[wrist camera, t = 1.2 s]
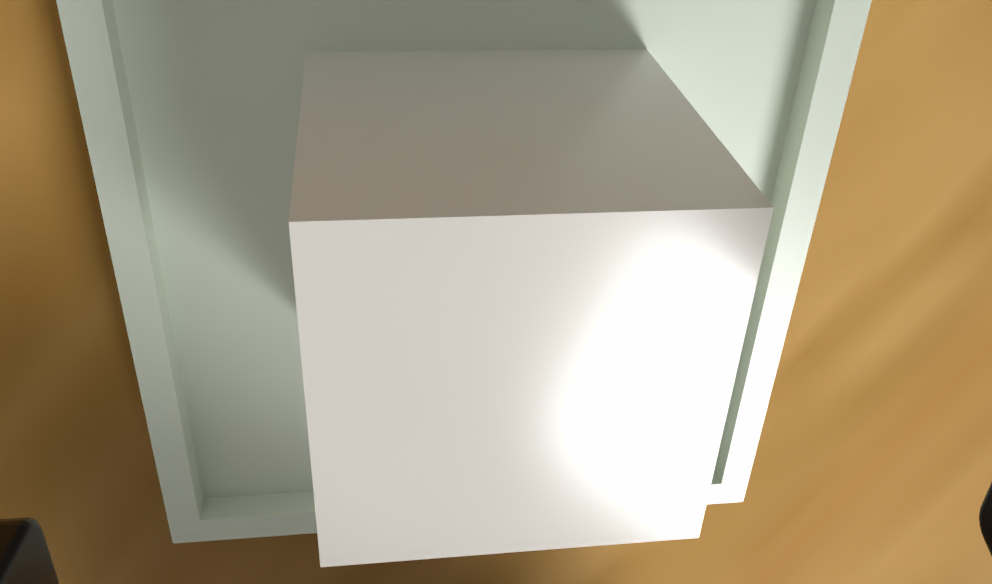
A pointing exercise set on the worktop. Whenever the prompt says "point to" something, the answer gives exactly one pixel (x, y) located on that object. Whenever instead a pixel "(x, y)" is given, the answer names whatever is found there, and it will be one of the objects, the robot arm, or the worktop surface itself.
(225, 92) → the tray
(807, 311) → the worktop surface
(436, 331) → the white matte cube
